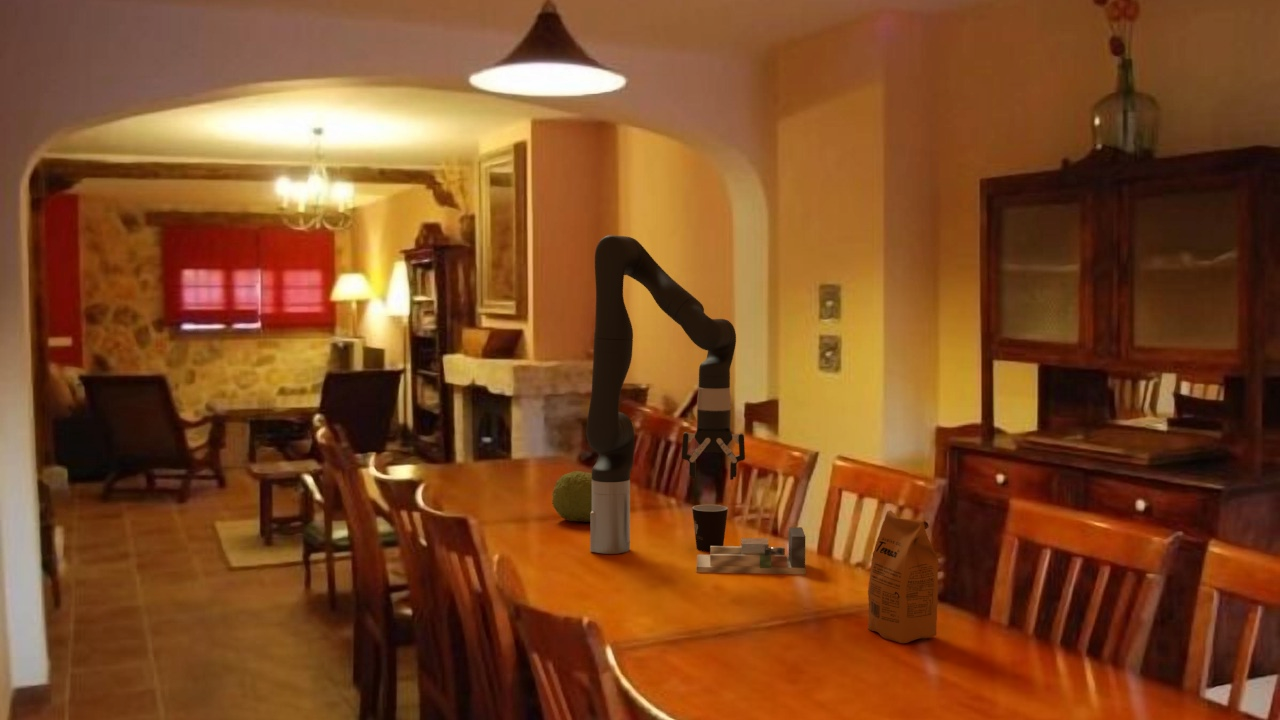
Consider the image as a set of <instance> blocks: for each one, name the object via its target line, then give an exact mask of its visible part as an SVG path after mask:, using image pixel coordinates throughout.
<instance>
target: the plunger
mask: <svg viewBox="0 0 1280 720" xmlns="http://www.w3.org/2000/svg"><path fill="white" fill-rule="evenodd" d="M740 540H741V541H740V543H741V544H740V546H741V554H747V555H781V554H782V549H781V548H773V547H774V546H769V539H768V538H759V537H754V538H753V537H751V538H750V537H741V538H740Z"/></svg>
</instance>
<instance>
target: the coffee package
mask: <svg viewBox="0 0 1280 720" xmlns="http://www.w3.org/2000/svg"><path fill="white" fill-rule="evenodd" d="M929 527H930V525H929V522H927V521H926V520H920V519H911V518H910V519H909V518H900V517H899V516H898V515H897V514H896V513H894V512H893V511H892V510H887V511H886V514H885V516H884V520H883V522H882V524H881V527H880V531H879V533H878V537H877V538H876V542H875V546H874V548H873V552H872V556H871V557H872V558H871V565H870V573H869V580H868V581H869V582H868V589H867V595H868V598H867V599H868V626H867V628H868V630H869V631H872V632H877V633H878V634H879V635H880V636H881V638H883V639H885V640H888V641H892V642H896V643H899V644H908V643H910V642H913V641H916V640H918V639H919V640H920V639H930V638H932V637H934V636H937V633H938V632H937V628H938V627H937V623H938V622H937V621H938V606H939V605H938V604H939V602H938V591H939V578H938V577H939V558H938V556H937V553H936V552H935V549H934V547H933V544H932V543H931V540H930V539H929V536H928V534H927V532H926V530H927V529H928V528H929Z"/></svg>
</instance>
